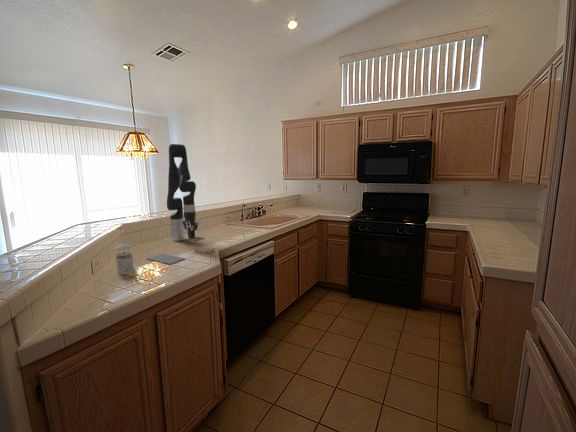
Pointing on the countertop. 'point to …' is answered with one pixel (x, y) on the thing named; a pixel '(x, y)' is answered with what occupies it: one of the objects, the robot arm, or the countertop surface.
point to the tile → (204, 250)
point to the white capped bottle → (124, 259)
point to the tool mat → (166, 259)
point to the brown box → (193, 237)
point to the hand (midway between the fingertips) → (191, 235)
